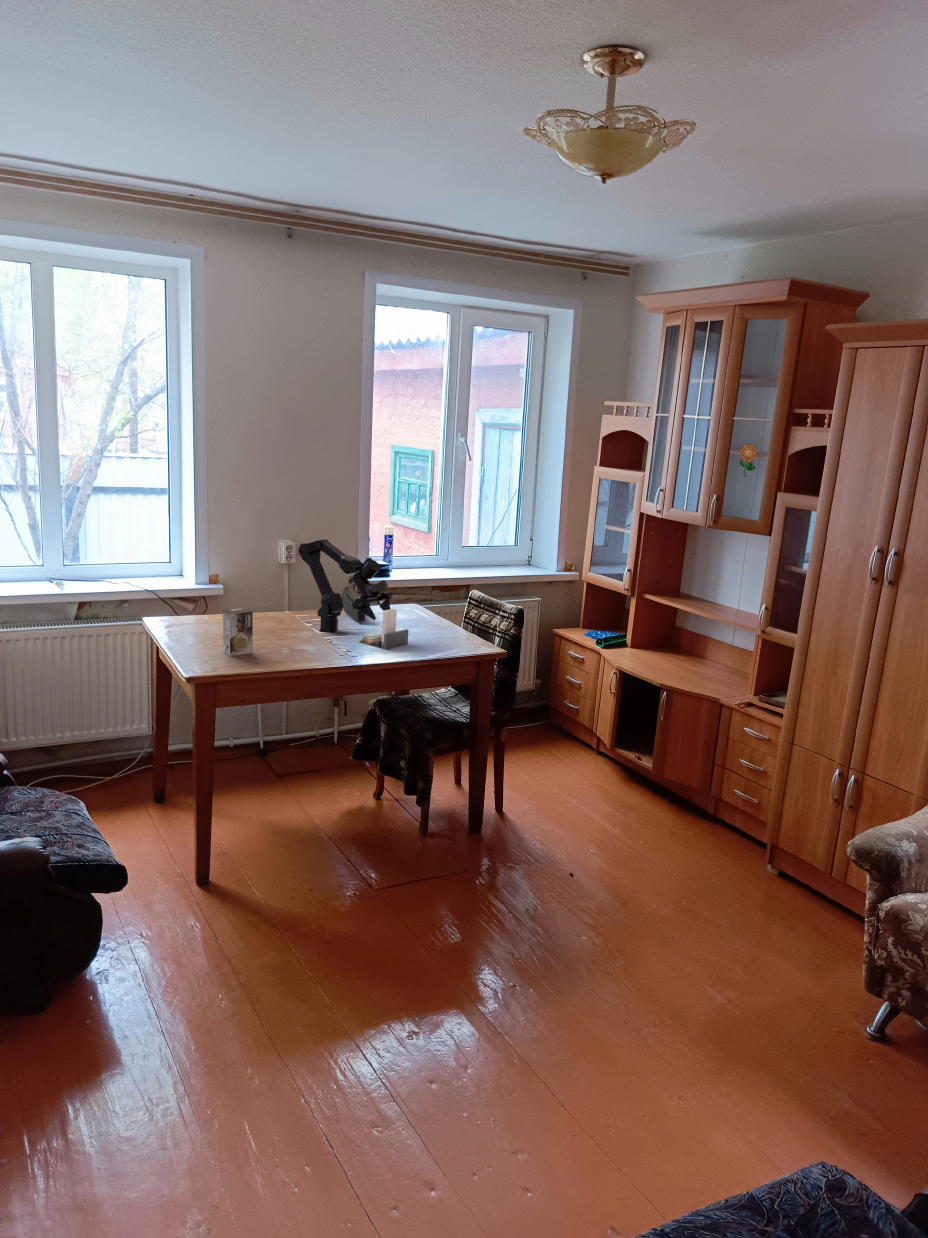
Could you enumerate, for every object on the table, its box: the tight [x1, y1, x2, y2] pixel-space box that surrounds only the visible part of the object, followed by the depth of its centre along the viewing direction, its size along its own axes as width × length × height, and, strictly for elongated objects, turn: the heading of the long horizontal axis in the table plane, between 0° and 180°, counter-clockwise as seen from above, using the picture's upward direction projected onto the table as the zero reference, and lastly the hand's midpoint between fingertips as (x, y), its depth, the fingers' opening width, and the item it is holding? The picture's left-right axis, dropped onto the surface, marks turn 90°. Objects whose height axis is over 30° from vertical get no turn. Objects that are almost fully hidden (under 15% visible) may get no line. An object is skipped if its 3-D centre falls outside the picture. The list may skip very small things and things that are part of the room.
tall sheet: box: [381, 608, 398, 646], centre depth 344 cm, size 2×6×14 cm, turn 143°
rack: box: [358, 628, 410, 651], centre depth 347 cm, size 15×13×7 cm
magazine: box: [340, 586, 366, 623], centre depth 392 cm, size 17×3×30 cm
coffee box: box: [222, 607, 254, 657], centre depth 321 cm, size 9×6×16 cm
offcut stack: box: [359, 633, 382, 646], centre depth 350 cm, size 6×11×2 cm, turn 143°
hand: (383, 617), depth 345 cm, fingers open, 9 cm apart
